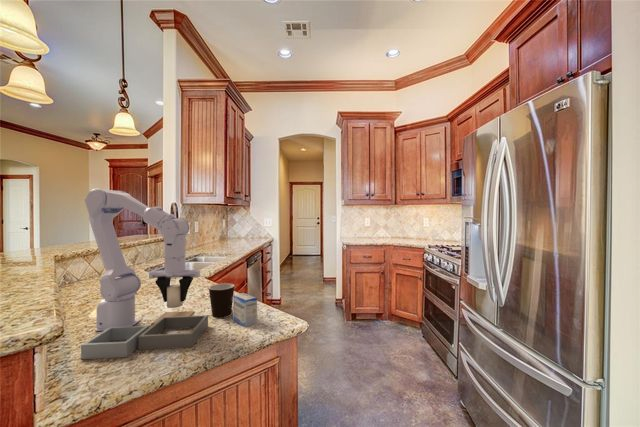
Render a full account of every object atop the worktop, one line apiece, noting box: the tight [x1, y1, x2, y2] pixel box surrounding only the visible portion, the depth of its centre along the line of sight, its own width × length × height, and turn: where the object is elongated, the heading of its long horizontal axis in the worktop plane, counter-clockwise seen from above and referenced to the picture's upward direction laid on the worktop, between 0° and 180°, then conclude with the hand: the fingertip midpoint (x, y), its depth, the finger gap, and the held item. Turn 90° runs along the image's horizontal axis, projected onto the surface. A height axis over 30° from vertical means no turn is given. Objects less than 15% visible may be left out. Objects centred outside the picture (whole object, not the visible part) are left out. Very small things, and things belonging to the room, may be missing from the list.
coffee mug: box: [208, 282, 235, 319], centre depth 98 cm, size 12×9×10 cm
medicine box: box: [232, 292, 258, 328], centre depth 89 cm, size 8×4×9 cm, turn 47°
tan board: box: [150, 310, 195, 326], centre depth 93 cm, size 10×10×1 cm
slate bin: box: [80, 325, 150, 360], centre depth 73 cm, size 11×11×4 cm
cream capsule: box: [166, 283, 184, 309], centre depth 84 cm, size 4×4×6 cm
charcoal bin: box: [137, 314, 209, 351], centre depth 79 cm, size 14×14×4 cm
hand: (174, 300), depth 84 cm, fingers closed on cream capsule, 4 cm apart
